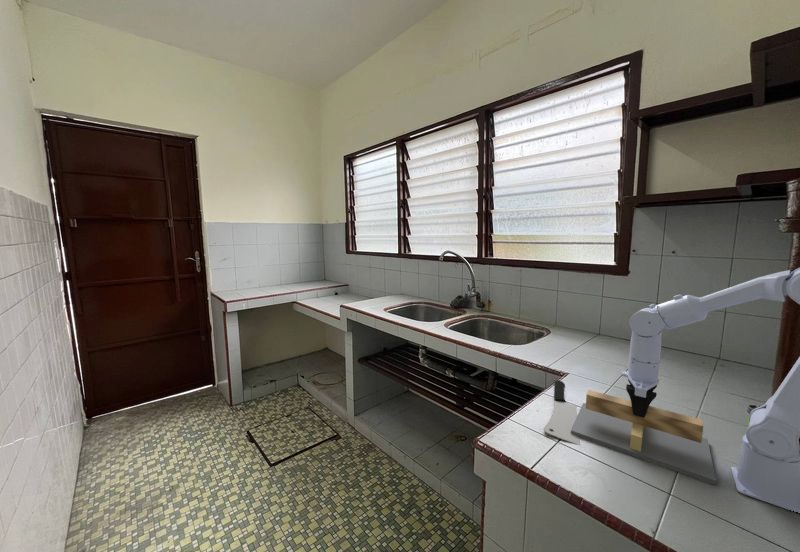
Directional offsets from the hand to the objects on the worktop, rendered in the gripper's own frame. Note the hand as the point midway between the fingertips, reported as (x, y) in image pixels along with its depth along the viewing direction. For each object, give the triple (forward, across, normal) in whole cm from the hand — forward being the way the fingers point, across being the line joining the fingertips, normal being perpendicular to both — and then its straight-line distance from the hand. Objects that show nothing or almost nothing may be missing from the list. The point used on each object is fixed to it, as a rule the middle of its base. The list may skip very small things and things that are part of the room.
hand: (639, 412), depth 76 cm
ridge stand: (+7, 0, 0) cm, 7 cm away
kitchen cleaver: (+8, -3, -16) cm, 18 cm away
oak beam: (+2, 0, 0) cm, 2 cm away
